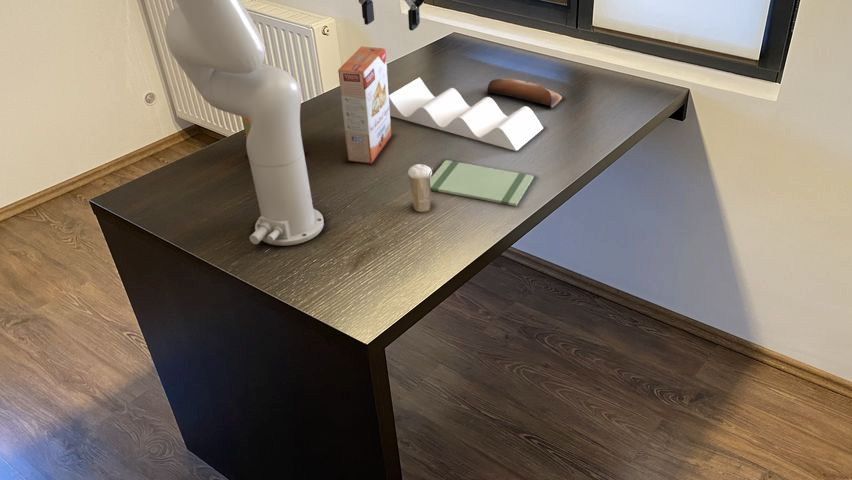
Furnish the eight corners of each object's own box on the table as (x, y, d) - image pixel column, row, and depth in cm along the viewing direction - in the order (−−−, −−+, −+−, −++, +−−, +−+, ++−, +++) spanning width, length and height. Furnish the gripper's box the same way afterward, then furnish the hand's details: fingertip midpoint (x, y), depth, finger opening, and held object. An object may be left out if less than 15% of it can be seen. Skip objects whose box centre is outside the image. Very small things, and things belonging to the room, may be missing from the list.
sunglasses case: (564, 95, 190) (560, 78, 184) (554, 117, 188) (549, 101, 182) (501, 81, 197) (495, 65, 191) (490, 103, 195) (484, 86, 189)
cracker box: (373, 165, 161) (364, 71, 149) (347, 162, 162) (335, 69, 149) (393, 136, 172) (386, 47, 159) (368, 133, 173) (359, 44, 160)
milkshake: (427, 217, 145) (425, 172, 139) (405, 209, 147) (402, 164, 141) (441, 207, 148) (439, 162, 142) (419, 199, 150) (417, 155, 144)
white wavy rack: (516, 150, 167) (517, 129, 164) (389, 115, 181) (388, 95, 178) (543, 128, 176) (544, 108, 173) (420, 96, 190) (419, 77, 187)
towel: (516, 206, 149) (516, 203, 148) (423, 188, 154) (423, 186, 153) (533, 177, 158) (533, 175, 157) (445, 162, 163) (445, 159, 162)
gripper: (333, -67, 138) (343, 26, 149) (420, -58, 135) (424, 36, 145) (352, -75, 144) (360, 15, 155) (435, -67, 140) (438, 24, 151)
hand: (391, 25), depth 150 cm, fingers open, 9 cm apart
